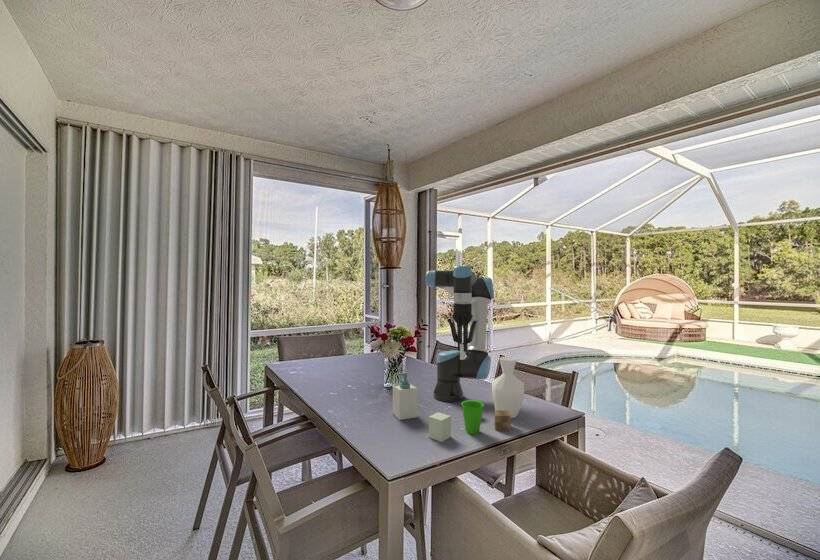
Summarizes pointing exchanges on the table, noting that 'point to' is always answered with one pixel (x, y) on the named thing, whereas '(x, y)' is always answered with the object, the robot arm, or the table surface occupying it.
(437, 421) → the sage block
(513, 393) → the vase
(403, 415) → the soap bottle
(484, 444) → the table surface
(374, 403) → the table surface
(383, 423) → the table surface
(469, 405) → the cup
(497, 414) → the walnut block
